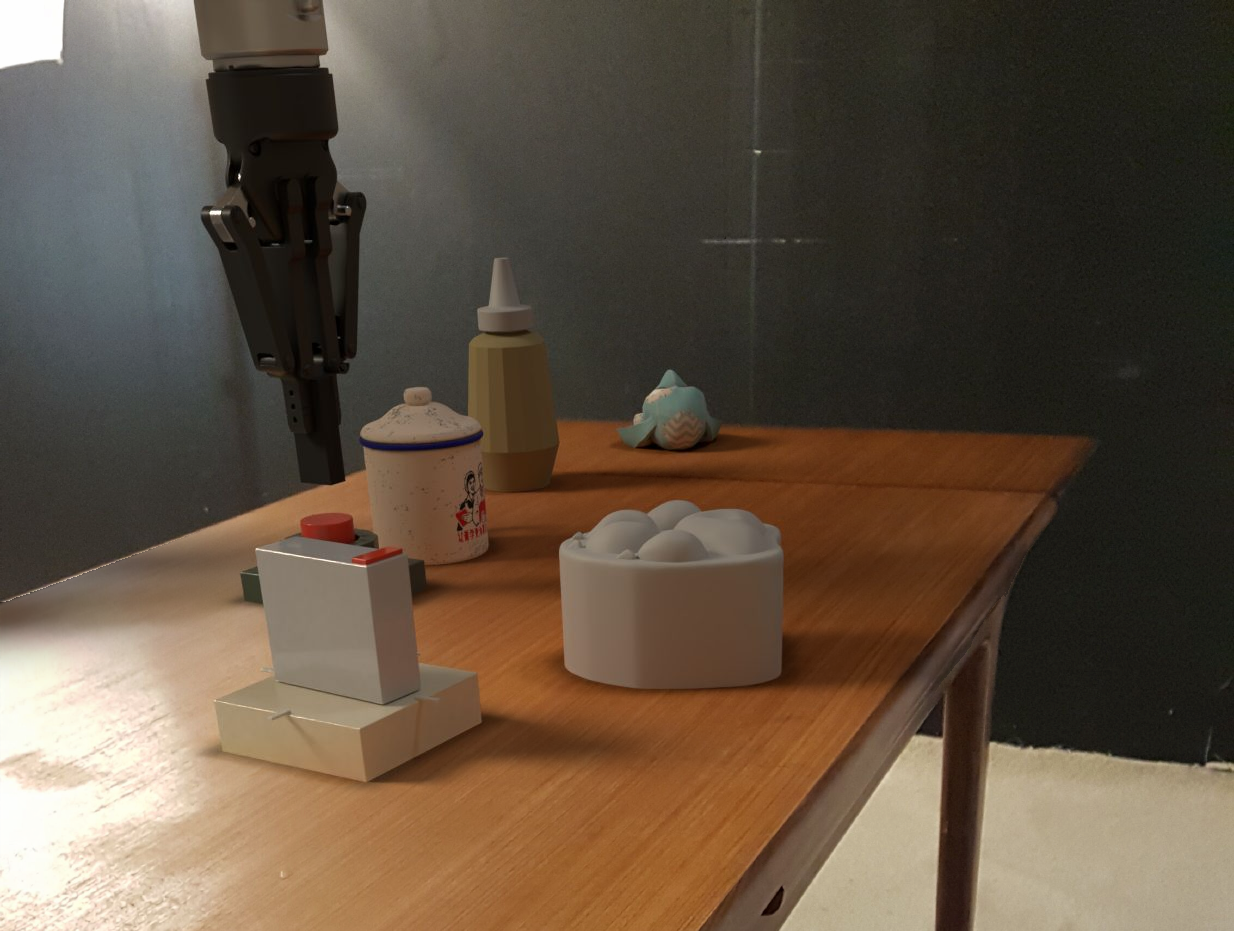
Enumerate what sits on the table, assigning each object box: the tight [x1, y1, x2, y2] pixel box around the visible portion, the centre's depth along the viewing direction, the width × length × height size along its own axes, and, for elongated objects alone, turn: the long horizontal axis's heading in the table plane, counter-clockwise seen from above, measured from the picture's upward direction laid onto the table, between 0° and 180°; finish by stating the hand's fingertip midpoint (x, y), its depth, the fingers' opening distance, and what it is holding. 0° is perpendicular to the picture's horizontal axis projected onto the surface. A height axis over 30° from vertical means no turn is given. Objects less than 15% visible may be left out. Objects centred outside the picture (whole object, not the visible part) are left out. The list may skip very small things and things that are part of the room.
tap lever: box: [254, 536, 421, 705], centre depth 82 cm, size 8×3×7 cm, turn 54°
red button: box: [299, 512, 356, 544], centre depth 108 cm, size 4×4×2 cm
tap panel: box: [213, 651, 483, 783], centre depth 85 cm, size 12×12×3 cm
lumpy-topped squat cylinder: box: [558, 499, 785, 690], centre depth 93 cm, size 10×13×9 cm
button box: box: [239, 528, 428, 605], centre depth 109 cm, size 10×8×4 cm
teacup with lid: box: [358, 386, 490, 567], centre depth 118 cm, size 12×9×12 cm
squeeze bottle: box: [467, 257, 560, 493], centre depth 134 cm, size 8×8×18 cm
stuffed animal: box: [615, 369, 724, 451], centre depth 152 cm, size 11×7×12 cm
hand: (323, 481), depth 106 cm, fingers closed
